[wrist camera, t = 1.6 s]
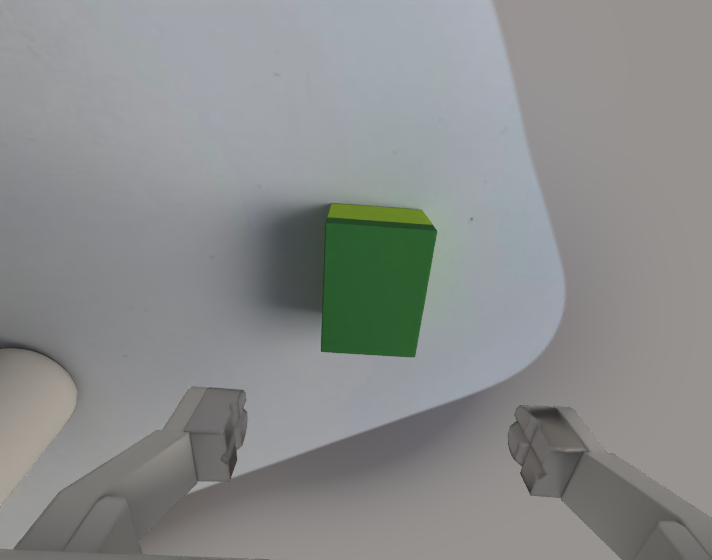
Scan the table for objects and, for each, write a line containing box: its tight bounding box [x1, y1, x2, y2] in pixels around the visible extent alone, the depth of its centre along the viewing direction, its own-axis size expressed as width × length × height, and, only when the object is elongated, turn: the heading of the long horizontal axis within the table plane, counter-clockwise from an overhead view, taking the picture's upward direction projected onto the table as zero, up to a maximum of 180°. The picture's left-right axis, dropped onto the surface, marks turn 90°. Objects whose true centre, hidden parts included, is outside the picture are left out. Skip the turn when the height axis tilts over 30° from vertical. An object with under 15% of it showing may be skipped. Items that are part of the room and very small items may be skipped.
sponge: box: [321, 203, 437, 357], centre depth 19 cm, size 7×5×4 cm
